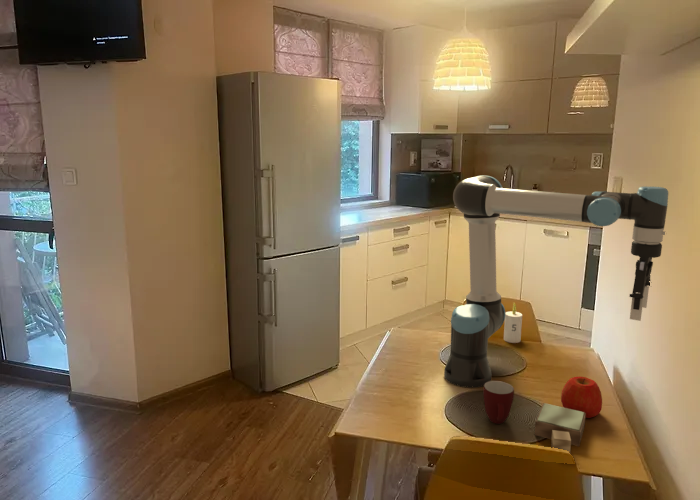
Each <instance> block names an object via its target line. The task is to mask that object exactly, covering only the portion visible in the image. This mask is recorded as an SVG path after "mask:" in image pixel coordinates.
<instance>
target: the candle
mask: <svg viewBox="0 0 700 500" xmlns="http://www.w3.org/2000/svg"><path fill="white" fill-rule="evenodd" d="M505 313H506V315H505V320H504V327H503V329H504V330H503V340H504V341H505V342H507V343H512V344H516V343H517V344H518V343H521V337H522V324H523V314H522V313H521V312H519V311H517V305H516V302H513V306H512V311H505Z"/></svg>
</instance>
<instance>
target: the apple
mask: <svg viewBox="0 0 700 500" xmlns="http://www.w3.org/2000/svg"><path fill="white" fill-rule="evenodd" d="M560 397H561V398H560V401H561V404H562V407H564V408H568V409H572V410H577V411H581V412H584V413H586V416H585V419H590V418H594V417H596V416H598V415H599V414H600V413H601V411H602V408H603V407H602V406H603V397H602V391H601V389H600V386H599V385H598V383H597V382H596V381H595V380H593V379H591V378H589V377H586V376H574V377H571V378H569V379H568V380H567V382H566V383H565V384H564V386H563V388H562V389H561V395H560Z"/></svg>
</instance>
